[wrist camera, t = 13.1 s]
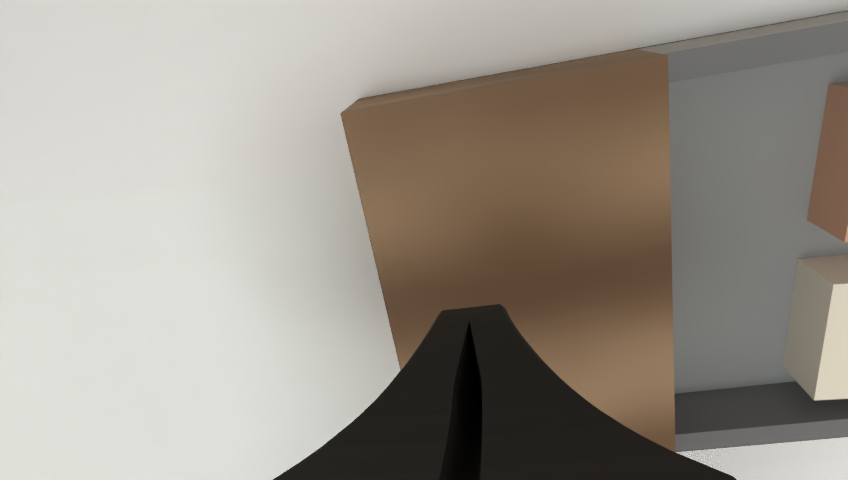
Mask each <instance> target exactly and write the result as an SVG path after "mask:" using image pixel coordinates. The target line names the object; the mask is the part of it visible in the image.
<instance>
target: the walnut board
mask: <svg viewBox="0 0 848 480" xmlns="http://www.w3.org/2000/svg"><path fill="white" fill-rule="evenodd" d="M341 117H342V122H343V126H344V130H345V135H346V139H347V143H348V147H349V152H350V156H351V160H352V164H353V169H354V173H355V177H356V182H357V186H358V190H359V194H360V199H361V203H362V207H363V211H364V216H365V220H366V224H367V228H368V233H369V237H370V241H371V246H372V250H373V254H374V258H375V263H376V267H377V271H378V275H379V280H380V284H381V288H382V292H383V297H384V301H385V305H386V310H387V314H388V318H389V322H390V327H391V331H392V335H393V339H394V344H395V348H396V352H397V357H398V361H399V365H400V369H401V370H402V368H403V367H404V366H405V365H406V363H407V362H408V360H409V359H410V358H411V356H412V355H413V353H414V352H415V350H416V349H417V348H418V346H419V345H420V343H421V342H422V340H423V339H424V337H425V336H426V334H427V332H428V331H429V329H430V328H431V326H432V324H433V323H434V321H435V319H436V318H437V316H438V315H439V313H440V312H441V311H442V310H451V309H460V308H468V307H477V306H486V305H495V304H501V305H502V306H503V307H505V308H506V311H507V313H508V315H509V317H510V319H511V320H512V322H513V323H514V325H515V326H516V328H517V329H518V331H519V332H520V334H521V335H522V336H523V338H524V339H525V340H526V341H527V342H528V344H529V345H530V346H531V347H532V348H533V350H534V351H535V352H536V353H537V354H538V356H539V357H540V358H541V359H542V360H543V361H544V362H545V363H546V364H547V365H548V366H549V367H550V368H551V369H552V370H553V371H554V372H555V373H556V374H557V375H558V376H559V377H560V378H561V379H562V380H563V381H564V382H565V383H566V384H568V385H569V386H570V387H571V388H572V389H573V390H575V391H576V392H577V393H578V394H579V395H581V396H582V397H583V398H584V399H586V400H587V401H588V402H590V403H591V404H592V405H594V406H595V407H596V408H598V409H599V410H601V411H602V412H604V413H605V414H607V415H608V416H610V417H612V418H613V419H615V420H616V421H618V422H619V423H621V424H623V425H624V426H626V427H627V428H629V429H631V430H633V431H634V432H636V433H638V434H640V435H642V436H644V437H645V438H647V439H649V440H651V441H653V442H655V443H657V444H659V445H661V446H663V447H665V448H667V449H669V450H671V451H673V452H675V399H674V345H673V291H672V237H671V183H670V130H669V76H668V55H665V54H660V53H654V52H649V51H644V50H638V49H632V50H627V51H621V52H616V53H610V54H605V55H599V56H593V57H588V58H582V59H577V60H571V61H566V62H560V63H555V64H549V65H544V66H538V67H533V68H527V69H522V70H516V71H511V72H505V73H500V74H494V75H488V76H483V77H477V78H472V79H466V80H461V81H455V82H450V83H444V84H439V85H433V86H428V87H422V88H417V89H411V90H406V91H400V92H394V93H389V94H383V95H378V96H372V97H367V98H361V99H358V100H357V101H356V102H354V103H353V104H352V105H351V106H349V107H348V108H347V109H346V110H344V111H343V112H342V113H341Z"/></svg>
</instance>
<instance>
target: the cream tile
mask: <svg viewBox="0 0 848 480" xmlns="http://www.w3.org/2000/svg"><path fill="white" fill-rule="evenodd" d="M783 367H784V368H785V369H786V370H787V372H788V373H789V374H790V375H791V376H792V377H793V378H794V379H795V380H796V381H797V383H798V384H799V385H800V386H801V387H802V388H803V389H804V390H805V391H806V392H807V393H808V395H809V396H810V397H811V398H812V399H813V400H832V399H848V255H838V256H826V257H813V258H801V259H798V261H797V269H796V276H795V283H794V290H793V297H792V304H791V312H790V319H789V326H788V333H787V340H786V347H785V355H784V362H783Z"/></svg>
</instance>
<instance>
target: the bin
mask: <svg viewBox="0 0 848 480" xmlns="http://www.w3.org/2000/svg"><path fill="white" fill-rule="evenodd" d="M638 50H644V51H649V52H654V53H660V54H665V55H668V76H669V130H670V183H671V237H672V291H673V345H674V399H675V452H682V451H693V450H704V449H716V448H727V447H738V446H750V445H761V444H772V443H784V442H795V441H806V440H817V439H829V438H840V437H848V399H832V400H813V399H812V398H811V397H810V396H809V395H808V393H807V392H806V391H805V390H804V389H803V388H802V387H801V386H800V385H799V384H798V383H797V381H796V380H795V379H794V378H793V377H792V376H791V375H790V374H789V373H788V372H787V370H786V369H785V368H784V367H783V362H784V355H785V347H786V340H787V333H788V326H789V319H790V312H791V304H792V297H793V290H794V283H795V276H796V269H797V261H798V259H801V258H813V257H826V256H838V255H848V242H843V241H841V240H840V239H838V238H836V237H835V236H833V235H831V234H830V233H828V232H826V231H825V230H823V229H821V228H819V227H818V226H816V225H814V224H813V223H811V222H809V221H808V220H807V215H808V209H809V202H810V196H811V190H812V184H813V178H814V172H815V166H816V159H817V153H818V147H819V141H820V135H821V129H822V122H823V116H824V110H825V104H826V98H827V92H828V86H829V84H832V83H843V82H848V11H842V12H837V13H831V14H826V15H820V16H815V17H809V18H804V19H798V20H793V21H787V22H781V23H776V24H770V25H765V26H759V27H754V28H748V29H743V30H737V31H732V32H726V33H721V34H715V35H710V36H704V37H699V38H693V39H687V40H682V41H676V42H671V43H665V44H660V45H654V46H649V47H643V48H638Z"/></svg>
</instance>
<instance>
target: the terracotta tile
mask: <svg viewBox="0 0 848 480" xmlns="http://www.w3.org/2000/svg"><path fill="white" fill-rule="evenodd" d="M807 220H808V221H809V222H811V223H813V224H814V225H816V226H818V227H819V228H821V229H823V230H825V231H826V232H828V233H830V234H831V235H833V236H835V237H836V238H838V239H840V240H841V241H843V242H848V82H843V83H832V84H829V86H828V92H827V98H826V104H825V110H824V116H823V122H822V129H821V135H820V141H819V147H818V153H817V159H816V166H815V172H814V178H813V184H812V190H811V196H810V202H809V209H808V215H807Z"/></svg>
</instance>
